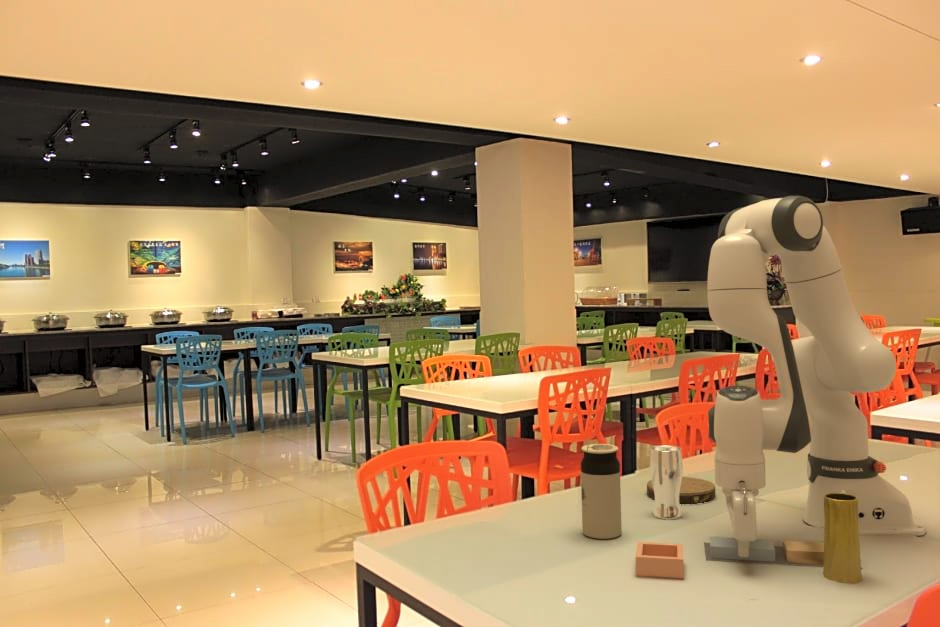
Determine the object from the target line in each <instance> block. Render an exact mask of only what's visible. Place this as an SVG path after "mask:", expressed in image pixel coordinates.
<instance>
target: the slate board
mask: <svg viewBox="0 0 940 627" xmlns="http://www.w3.org/2000/svg"><path fill="white" fill-rule="evenodd" d="M709 543H710V552H711V558H717V559H735V560H753V561H771V562H775V548H774V546H775V545H774V543H773V540H772V539H763V538H762V539H761V538H756V540H755V541H750V543H749V556H748V557H740V556H739V555H738V542H737V540H736V539H735V537H726V536H725V537H720V536H709Z"/></svg>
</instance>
